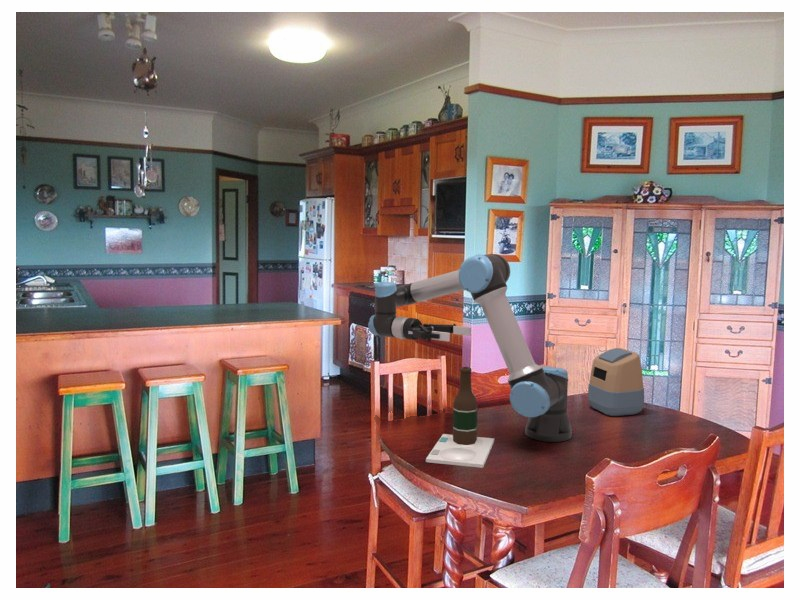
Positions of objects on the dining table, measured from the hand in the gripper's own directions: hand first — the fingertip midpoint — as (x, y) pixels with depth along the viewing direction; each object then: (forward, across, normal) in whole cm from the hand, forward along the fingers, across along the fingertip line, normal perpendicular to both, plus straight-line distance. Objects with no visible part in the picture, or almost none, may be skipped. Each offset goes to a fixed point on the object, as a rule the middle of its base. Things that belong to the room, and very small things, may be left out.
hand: (460, 334), depth 213 cm
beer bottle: (+7, +8, -33) cm, 35 cm away
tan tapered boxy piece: (+34, -58, -34) cm, 75 cm away
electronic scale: (+9, +14, -34) cm, 38 cm away
